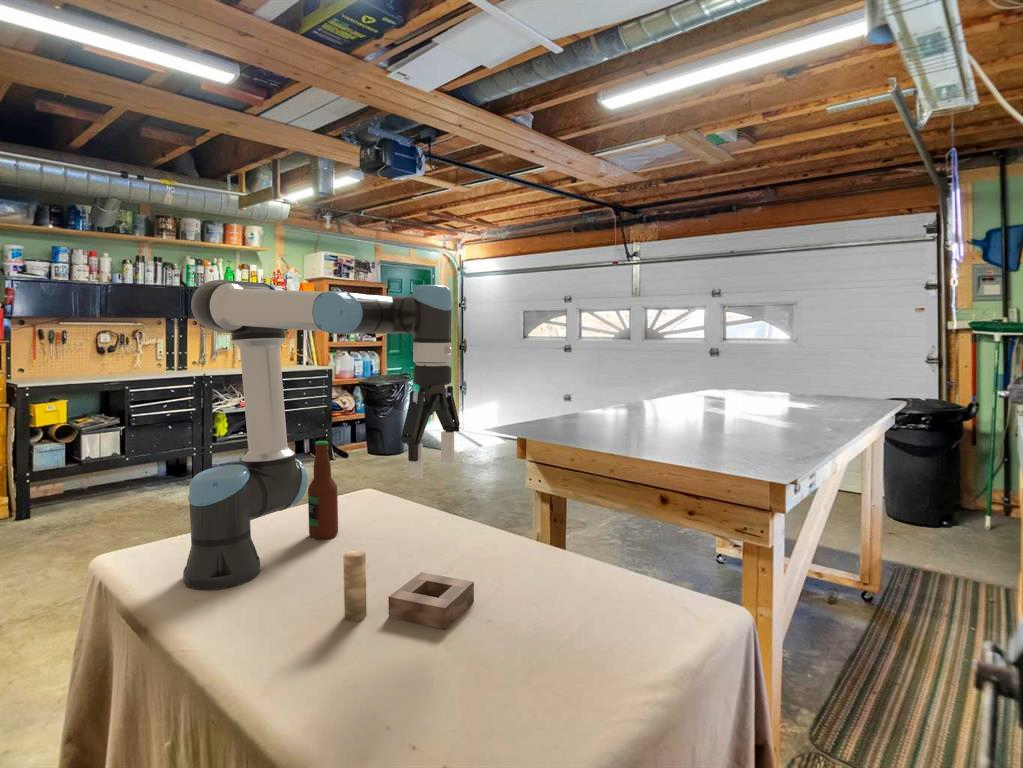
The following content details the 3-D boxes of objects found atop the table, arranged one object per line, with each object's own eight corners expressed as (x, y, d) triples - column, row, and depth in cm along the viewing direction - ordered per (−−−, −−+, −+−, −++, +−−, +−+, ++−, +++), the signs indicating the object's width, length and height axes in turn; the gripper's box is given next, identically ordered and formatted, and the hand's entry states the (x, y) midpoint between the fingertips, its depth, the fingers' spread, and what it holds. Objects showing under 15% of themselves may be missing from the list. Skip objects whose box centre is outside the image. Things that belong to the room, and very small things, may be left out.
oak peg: (340, 618, 108) (338, 556, 107) (353, 609, 112) (352, 549, 111) (358, 622, 107) (356, 559, 106) (370, 613, 111) (369, 552, 110)
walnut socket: (388, 617, 109) (388, 596, 109) (421, 590, 120) (421, 572, 120) (445, 629, 105) (445, 608, 104) (473, 601, 116) (473, 581, 116)
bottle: (317, 530, 157) (314, 438, 154) (342, 531, 156) (341, 439, 153) (303, 539, 149) (301, 443, 147) (330, 541, 148) (328, 444, 146)
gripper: (417, 368, 102) (418, 486, 104) (475, 361, 125) (474, 458, 127) (381, 367, 105) (382, 482, 107) (444, 360, 128) (443, 455, 130)
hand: (432, 469), depth 117 cm, fingers open, 13 cm apart
